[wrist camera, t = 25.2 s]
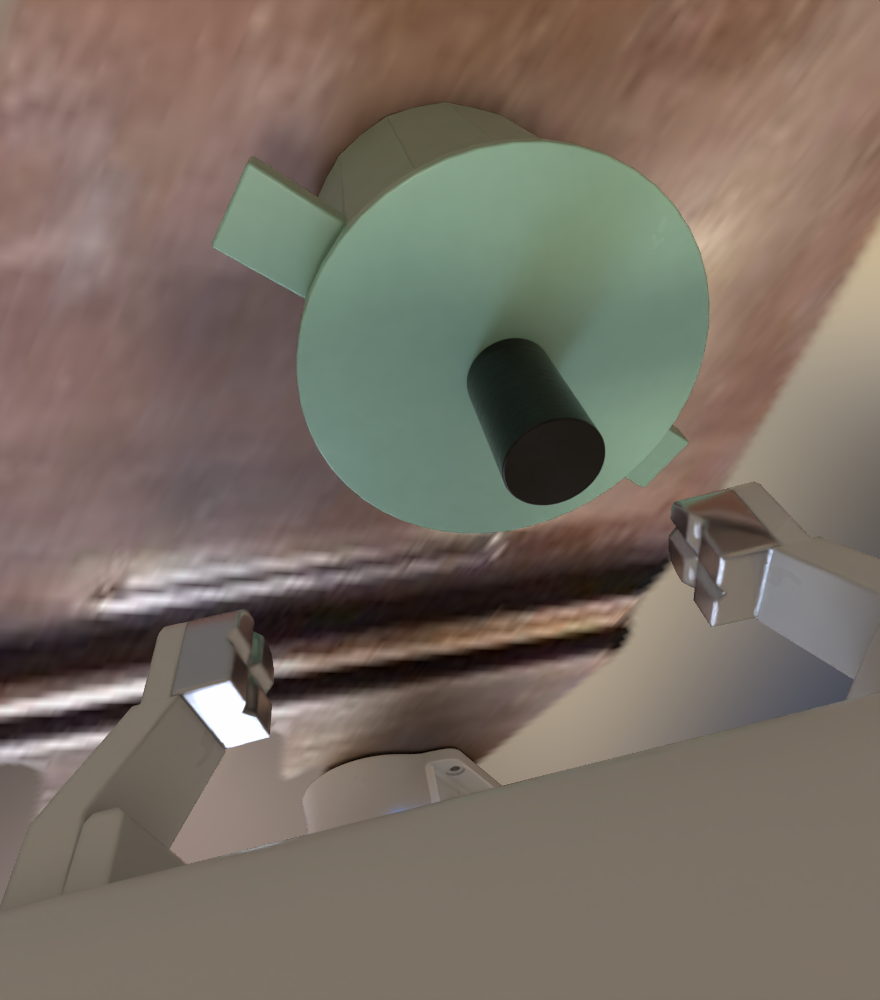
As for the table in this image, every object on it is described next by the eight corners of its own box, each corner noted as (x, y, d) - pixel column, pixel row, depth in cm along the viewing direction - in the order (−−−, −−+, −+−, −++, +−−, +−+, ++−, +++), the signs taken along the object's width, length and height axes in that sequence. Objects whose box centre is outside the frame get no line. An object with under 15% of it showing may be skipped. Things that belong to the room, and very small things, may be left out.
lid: (526, 555, 25) (571, 670, 21) (228, 430, 19) (203, 553, 15) (771, 294, 19) (903, 377, 15) (452, 9, 14) (517, 10, 9)
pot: (508, 429, 34) (571, 577, 25) (206, 266, 27) (145, 395, 18) (657, 245, 29) (804, 349, 20) (333, -23, 21) (337, -48, 12)
